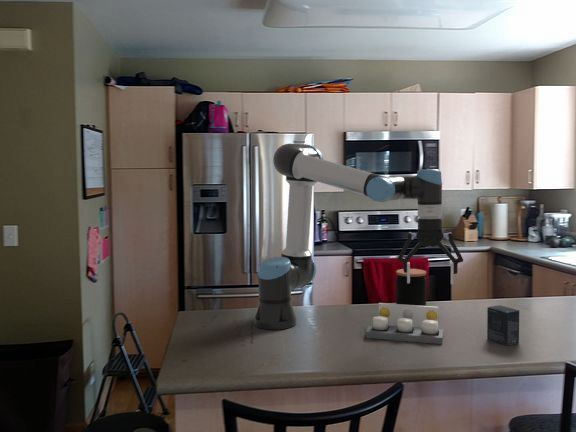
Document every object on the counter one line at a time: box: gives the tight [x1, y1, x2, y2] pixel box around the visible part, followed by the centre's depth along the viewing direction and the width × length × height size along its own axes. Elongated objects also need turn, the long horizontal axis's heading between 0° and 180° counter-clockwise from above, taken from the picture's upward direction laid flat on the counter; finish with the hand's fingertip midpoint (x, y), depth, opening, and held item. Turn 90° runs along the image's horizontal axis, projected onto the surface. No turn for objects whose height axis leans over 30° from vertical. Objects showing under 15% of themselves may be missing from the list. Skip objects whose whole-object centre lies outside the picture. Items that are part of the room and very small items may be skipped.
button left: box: [372, 315, 388, 330], centre depth 172 cm, size 5×5×3 cm
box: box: [486, 304, 520, 346], centre depth 163 cm, size 8×6×11 cm
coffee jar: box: [395, 268, 427, 306], centre depth 188 cm, size 11×11×18 cm
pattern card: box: [378, 302, 439, 328], centre depth 179 cm, size 20×1×8 cm, turn 71°
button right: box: [422, 320, 439, 334], centre depth 167 cm, size 5×5×3 cm
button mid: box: [397, 318, 412, 332], centre depth 170 cm, size 5×5×3 cm
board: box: [365, 323, 444, 345], centre depth 170 cm, size 24×9×2 cm, turn 71°
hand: (430, 283), depth 167 cm, fingers open, 13 cm apart
